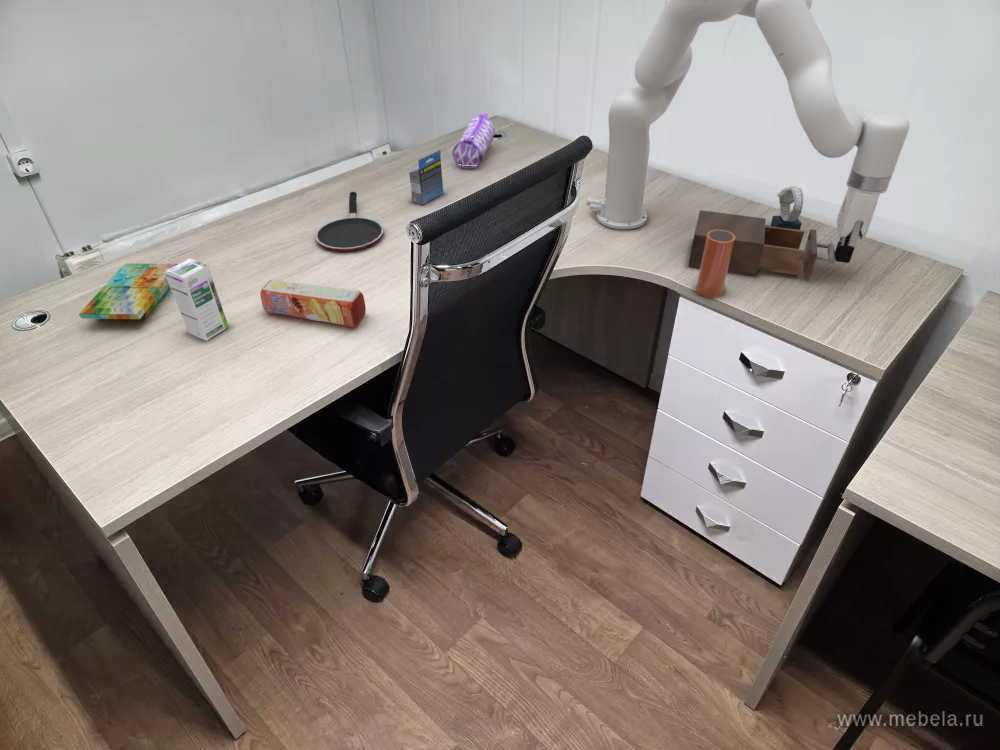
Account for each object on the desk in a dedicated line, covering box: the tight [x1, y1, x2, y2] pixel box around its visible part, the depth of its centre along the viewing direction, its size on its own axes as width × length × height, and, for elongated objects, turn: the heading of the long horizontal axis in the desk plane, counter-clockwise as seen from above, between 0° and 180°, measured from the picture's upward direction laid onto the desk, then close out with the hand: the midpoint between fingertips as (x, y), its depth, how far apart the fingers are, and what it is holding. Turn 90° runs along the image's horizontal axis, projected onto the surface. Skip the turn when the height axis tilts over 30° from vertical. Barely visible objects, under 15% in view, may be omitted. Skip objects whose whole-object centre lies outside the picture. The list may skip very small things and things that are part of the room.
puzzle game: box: [78, 262, 179, 320], centre depth 142 cm, size 12×5×20 cm
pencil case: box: [452, 112, 495, 170], centre depth 202 cm, size 22×9×10 cm, turn 171°
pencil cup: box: [695, 230, 735, 299], centre depth 141 cm, size 6×6×13 cm
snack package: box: [259, 279, 367, 328], centre depth 137 cm, size 21×7×7 cm, turn 73°
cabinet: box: [687, 209, 767, 278], centre depth 153 cm, size 15×13×8 cm
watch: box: [770, 185, 804, 230], centre depth 162 cm, size 6×8×11 cm
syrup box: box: [164, 258, 230, 342], centre depth 131 cm, size 6×6×14 cm
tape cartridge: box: [408, 149, 444, 206], centre depth 179 cm, size 9×4×12 cm, turn 144°
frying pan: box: [314, 191, 384, 252], centre depth 169 cm, size 28×16×3 cm, turn 8°
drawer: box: [757, 225, 836, 281], centre depth 149 cm, size 18×11×6 cm, turn 72°
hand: (841, 260), depth 147 cm, fingers closed
